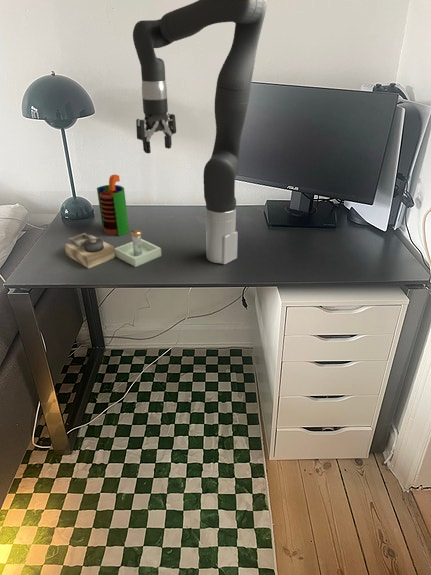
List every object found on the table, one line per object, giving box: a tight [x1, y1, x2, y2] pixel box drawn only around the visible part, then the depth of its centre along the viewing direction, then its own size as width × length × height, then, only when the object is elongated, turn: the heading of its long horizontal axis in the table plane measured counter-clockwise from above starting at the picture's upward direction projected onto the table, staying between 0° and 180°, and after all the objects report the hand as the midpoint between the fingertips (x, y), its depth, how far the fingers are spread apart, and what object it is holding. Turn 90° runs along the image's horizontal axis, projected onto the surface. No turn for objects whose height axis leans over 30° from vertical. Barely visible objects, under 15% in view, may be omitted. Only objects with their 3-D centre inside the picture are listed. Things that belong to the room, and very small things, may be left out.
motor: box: [96, 174, 130, 237], centre depth 160 cm, size 10×9×20 cm
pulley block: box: [64, 232, 116, 269], centre depth 146 cm, size 14×10×7 cm
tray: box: [114, 238, 162, 268], centre depth 147 cm, size 11×11×3 cm
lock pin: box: [130, 229, 142, 256], centre depth 145 cm, size 3×3×8 cm
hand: (158, 150), depth 146 cm, fingers open, 8 cm apart
